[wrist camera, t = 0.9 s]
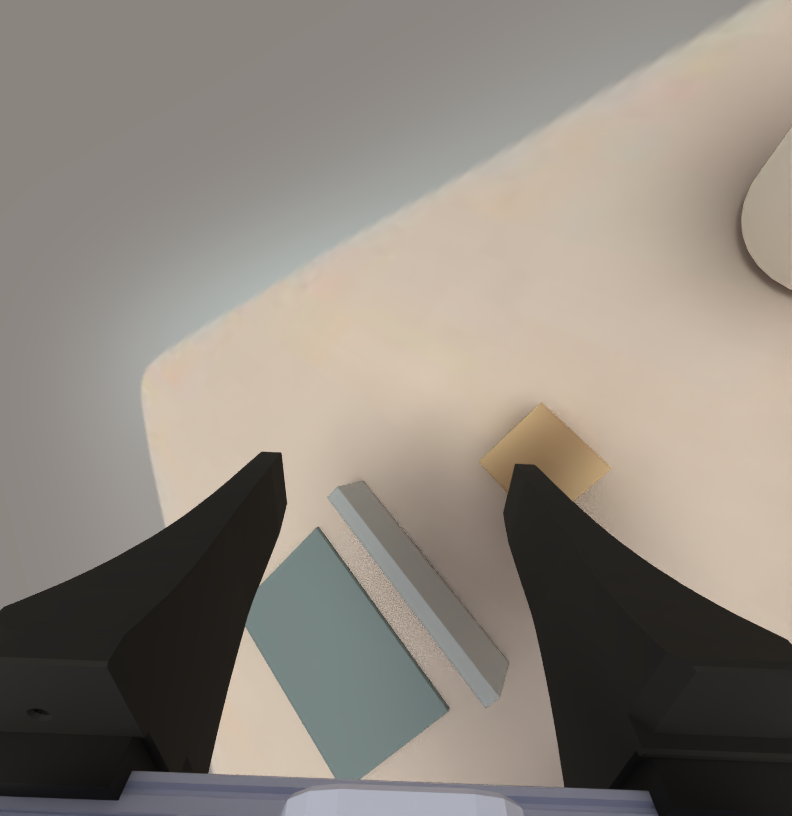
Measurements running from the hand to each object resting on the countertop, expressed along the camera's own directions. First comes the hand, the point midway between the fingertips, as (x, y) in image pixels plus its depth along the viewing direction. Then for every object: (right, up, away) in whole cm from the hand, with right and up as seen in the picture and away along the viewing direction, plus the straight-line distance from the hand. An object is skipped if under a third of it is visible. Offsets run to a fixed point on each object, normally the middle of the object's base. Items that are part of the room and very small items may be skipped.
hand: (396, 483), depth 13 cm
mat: (-5, -15, +16) cm, 22 cm away
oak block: (+9, -1, +11) cm, 14 cm away
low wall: (+2, -8, +14) cm, 16 cm away
